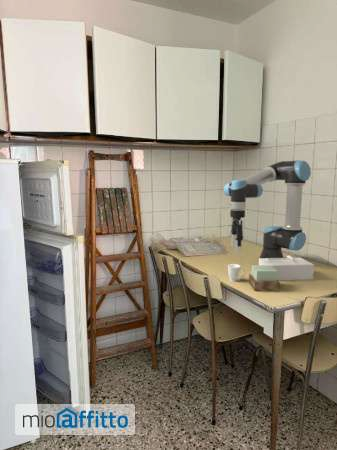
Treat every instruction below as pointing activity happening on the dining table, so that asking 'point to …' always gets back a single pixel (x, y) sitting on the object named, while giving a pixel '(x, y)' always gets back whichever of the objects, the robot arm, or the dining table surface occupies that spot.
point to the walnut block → (263, 284)
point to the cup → (234, 272)
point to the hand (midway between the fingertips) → (236, 249)
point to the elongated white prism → (290, 268)
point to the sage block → (264, 273)
